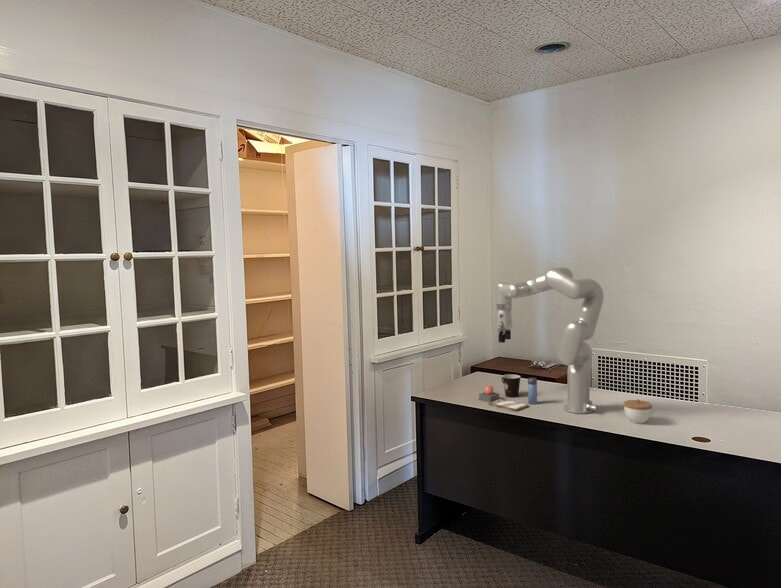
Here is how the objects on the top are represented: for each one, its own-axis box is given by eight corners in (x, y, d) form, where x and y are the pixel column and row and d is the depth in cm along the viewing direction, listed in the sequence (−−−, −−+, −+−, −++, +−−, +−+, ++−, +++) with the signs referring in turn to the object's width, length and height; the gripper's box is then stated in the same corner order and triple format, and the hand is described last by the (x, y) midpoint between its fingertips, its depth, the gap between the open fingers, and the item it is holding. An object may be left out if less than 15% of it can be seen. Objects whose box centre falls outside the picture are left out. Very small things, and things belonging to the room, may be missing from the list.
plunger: (495, 396, 266) (494, 386, 266) (489, 398, 264) (489, 388, 263) (488, 395, 269) (488, 385, 269) (483, 396, 267) (483, 386, 266)
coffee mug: (522, 397, 268) (522, 378, 267) (505, 398, 268) (504, 378, 267) (517, 391, 279) (517, 372, 278) (500, 392, 279) (500, 373, 279)
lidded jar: (628, 425, 223) (628, 403, 222) (620, 417, 234) (620, 396, 233) (655, 425, 222) (655, 403, 221) (646, 417, 232) (646, 396, 231)
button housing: (499, 399, 266) (499, 393, 266) (490, 402, 262) (490, 396, 261) (488, 396, 272) (488, 391, 271) (479, 399, 267) (479, 393, 267)
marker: (538, 403, 258) (538, 378, 257) (533, 405, 255) (533, 380, 254) (531, 401, 261) (531, 377, 260) (526, 403, 259) (526, 378, 257)
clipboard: (529, 406, 253) (528, 404, 253) (516, 411, 246) (516, 409, 246) (501, 400, 265) (501, 398, 265) (488, 404, 258) (488, 402, 258)
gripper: (506, 309, 262) (507, 344, 263) (516, 305, 277) (516, 338, 278) (491, 309, 265) (492, 343, 267) (501, 305, 281) (502, 337, 282)
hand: (504, 340), depth 273 cm, fingers open, 9 cm apart
